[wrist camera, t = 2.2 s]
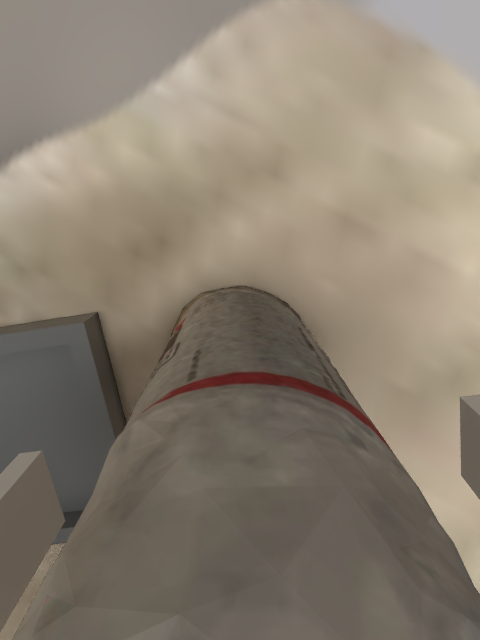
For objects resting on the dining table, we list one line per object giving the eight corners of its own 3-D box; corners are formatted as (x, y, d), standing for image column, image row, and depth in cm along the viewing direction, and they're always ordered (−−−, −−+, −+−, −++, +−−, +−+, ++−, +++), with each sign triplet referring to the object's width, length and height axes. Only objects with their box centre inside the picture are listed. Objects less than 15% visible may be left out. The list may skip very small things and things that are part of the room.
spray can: (225, 247, 21) (46, 614, 2) (347, 334, 23) (935, 1070, 3) (140, 369, 23) (-356, 1144, 4) (257, 443, 25) (303, 1314, 5)
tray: (-47, 533, 27) (-70, 559, 25) (-126, 346, 23) (-159, 359, 21) (148, 509, 26) (140, 533, 24) (97, 312, 22) (83, 322, 20)
